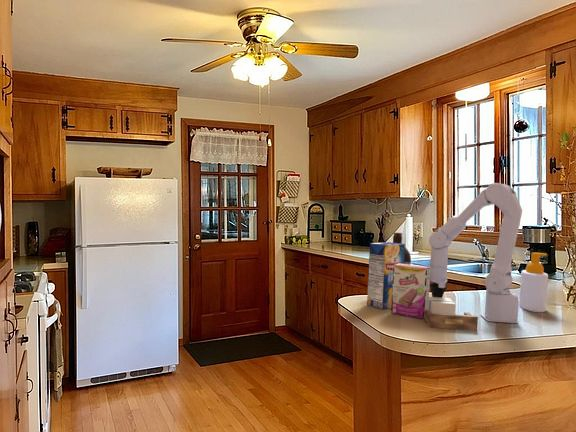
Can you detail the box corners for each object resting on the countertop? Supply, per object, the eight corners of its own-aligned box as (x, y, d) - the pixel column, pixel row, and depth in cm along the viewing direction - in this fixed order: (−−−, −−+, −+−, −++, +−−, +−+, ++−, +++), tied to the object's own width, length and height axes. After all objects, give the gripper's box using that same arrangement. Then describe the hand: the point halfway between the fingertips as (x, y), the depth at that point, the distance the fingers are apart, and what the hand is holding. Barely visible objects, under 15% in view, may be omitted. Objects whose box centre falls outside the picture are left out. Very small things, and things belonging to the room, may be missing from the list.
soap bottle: (550, 313, 166) (554, 255, 165) (525, 311, 167) (529, 254, 166) (538, 305, 178) (542, 251, 178) (515, 303, 180) (518, 250, 179)
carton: (448, 310, 164) (449, 298, 164) (454, 317, 155) (455, 303, 155) (426, 309, 165) (427, 296, 165) (431, 315, 156) (431, 302, 156)
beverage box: (366, 305, 167) (369, 243, 166) (386, 301, 174) (389, 242, 173) (382, 309, 162) (385, 245, 161) (401, 305, 169) (405, 244, 168)
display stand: (468, 322, 149) (469, 309, 149) (477, 330, 140) (478, 317, 140) (424, 319, 151) (425, 306, 151) (430, 327, 141) (431, 314, 141)
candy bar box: (390, 314, 156) (392, 264, 155) (395, 311, 160) (397, 262, 160) (424, 319, 150) (427, 268, 150) (428, 316, 155) (431, 266, 154)
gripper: (423, 262, 174) (421, 299, 174) (430, 268, 159) (428, 308, 160) (443, 263, 173) (441, 300, 173) (452, 269, 158) (450, 309, 159)
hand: (436, 304), depth 167 cm, fingers closed
